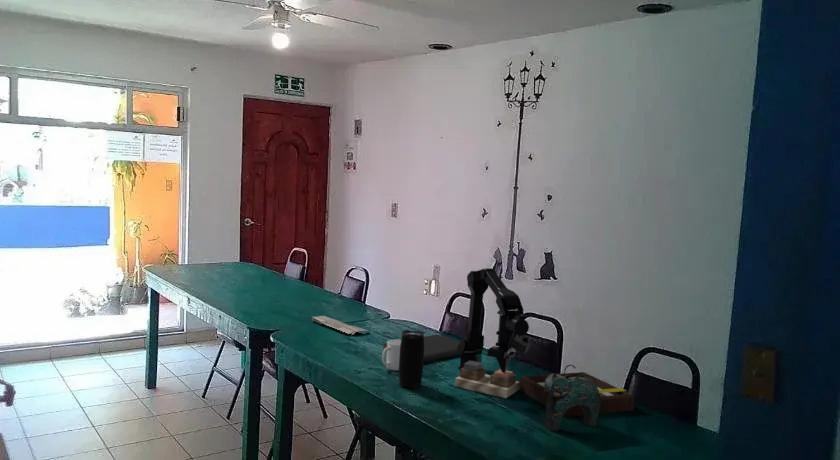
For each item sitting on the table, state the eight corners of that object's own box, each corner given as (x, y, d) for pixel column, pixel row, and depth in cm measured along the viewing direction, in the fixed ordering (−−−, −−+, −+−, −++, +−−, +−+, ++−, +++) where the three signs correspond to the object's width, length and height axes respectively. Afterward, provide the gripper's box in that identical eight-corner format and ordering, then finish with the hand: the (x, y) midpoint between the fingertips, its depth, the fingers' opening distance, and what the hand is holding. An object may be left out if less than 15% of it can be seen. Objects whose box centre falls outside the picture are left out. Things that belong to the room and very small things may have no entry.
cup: (411, 368, 253) (412, 343, 252) (389, 373, 244) (390, 347, 244) (396, 363, 259) (398, 338, 258) (374, 368, 250) (375, 342, 249)
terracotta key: (493, 380, 230) (494, 372, 230) (499, 377, 234) (499, 369, 234) (507, 383, 227) (507, 375, 227) (512, 379, 232) (512, 371, 232)
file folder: (436, 333, 299) (475, 345, 282) (435, 342, 299) (475, 355, 282) (382, 342, 276) (421, 356, 259) (381, 352, 276) (420, 366, 259)
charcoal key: (463, 371, 236) (464, 363, 236) (469, 368, 240) (470, 360, 240) (476, 374, 233) (476, 366, 233) (481, 371, 238) (482, 363, 237)
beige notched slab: (370, 334, 306) (370, 327, 305) (349, 338, 297) (349, 330, 297) (327, 320, 331) (327, 313, 331) (306, 322, 323) (306, 315, 322)
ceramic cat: (548, 433, 194) (553, 368, 192) (536, 426, 200) (541, 362, 198) (602, 427, 202) (607, 364, 200) (588, 419, 208) (593, 359, 206)
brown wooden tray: (636, 392, 219) (561, 398, 208) (634, 411, 220) (560, 418, 208) (585, 368, 245) (517, 373, 234) (584, 386, 246) (515, 391, 234)
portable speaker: (422, 382, 236) (425, 329, 235) (420, 390, 227) (424, 336, 225) (399, 380, 236) (402, 328, 235) (396, 388, 227) (400, 334, 226)
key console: (454, 386, 234) (455, 370, 233) (469, 378, 244) (470, 363, 244) (506, 398, 224) (507, 381, 224) (518, 389, 234) (520, 373, 234)
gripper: (518, 337, 217) (515, 382, 219) (537, 328, 234) (534, 370, 235) (488, 332, 223) (485, 376, 224) (508, 323, 239) (505, 364, 240)
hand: (503, 371), depth 231 cm, fingers closed, pressing on terracotta key
